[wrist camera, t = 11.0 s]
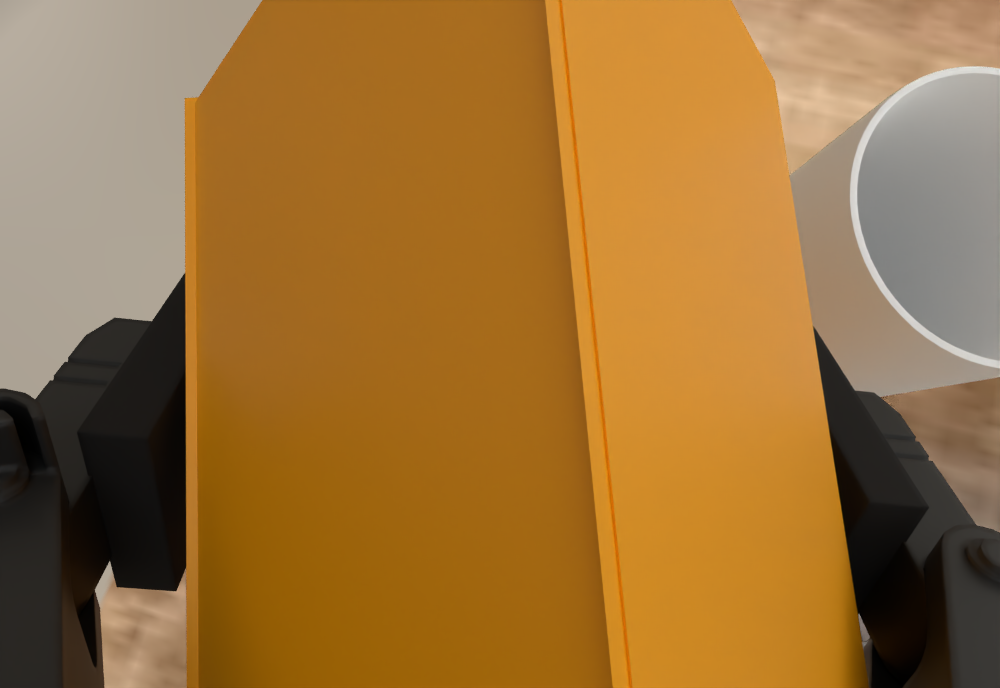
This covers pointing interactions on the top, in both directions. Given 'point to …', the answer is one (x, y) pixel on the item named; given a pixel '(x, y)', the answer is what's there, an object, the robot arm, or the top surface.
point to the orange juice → (503, 357)
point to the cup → (909, 236)
